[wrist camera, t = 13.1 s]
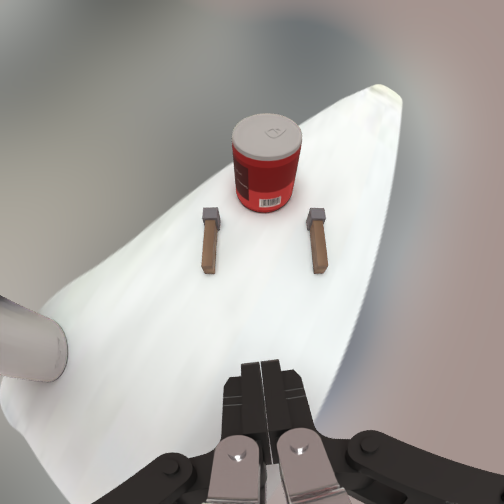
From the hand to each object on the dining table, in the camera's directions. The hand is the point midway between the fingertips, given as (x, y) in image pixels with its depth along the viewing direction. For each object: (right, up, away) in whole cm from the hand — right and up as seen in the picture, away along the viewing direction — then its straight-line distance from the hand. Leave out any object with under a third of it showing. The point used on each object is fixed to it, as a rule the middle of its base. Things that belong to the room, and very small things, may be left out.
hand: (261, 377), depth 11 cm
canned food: (+1, +13, +29) cm, 32 cm away
